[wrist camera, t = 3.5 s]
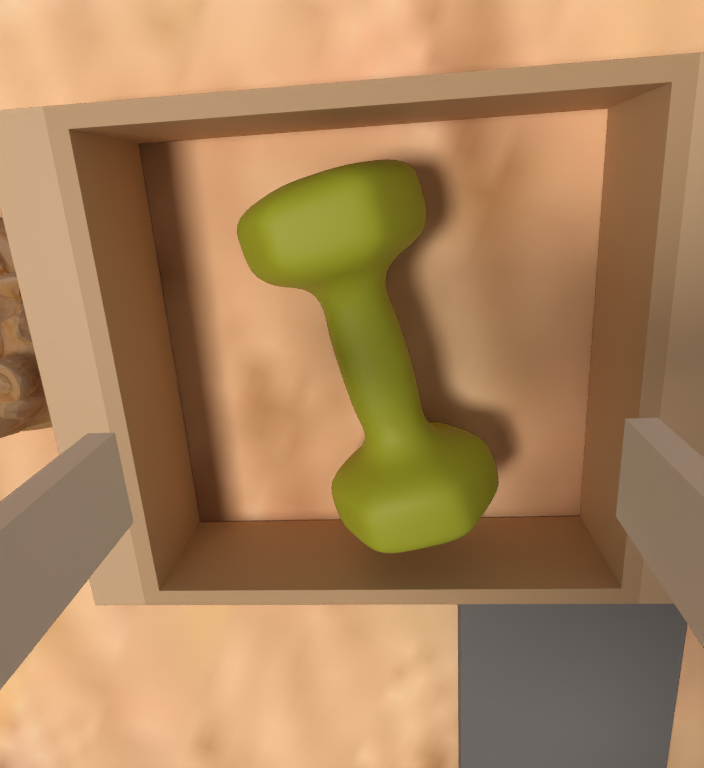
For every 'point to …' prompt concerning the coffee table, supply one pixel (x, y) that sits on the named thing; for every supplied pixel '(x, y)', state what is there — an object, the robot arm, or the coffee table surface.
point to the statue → (17, 356)
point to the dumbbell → (372, 351)
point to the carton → (157, 369)
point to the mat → (567, 684)
